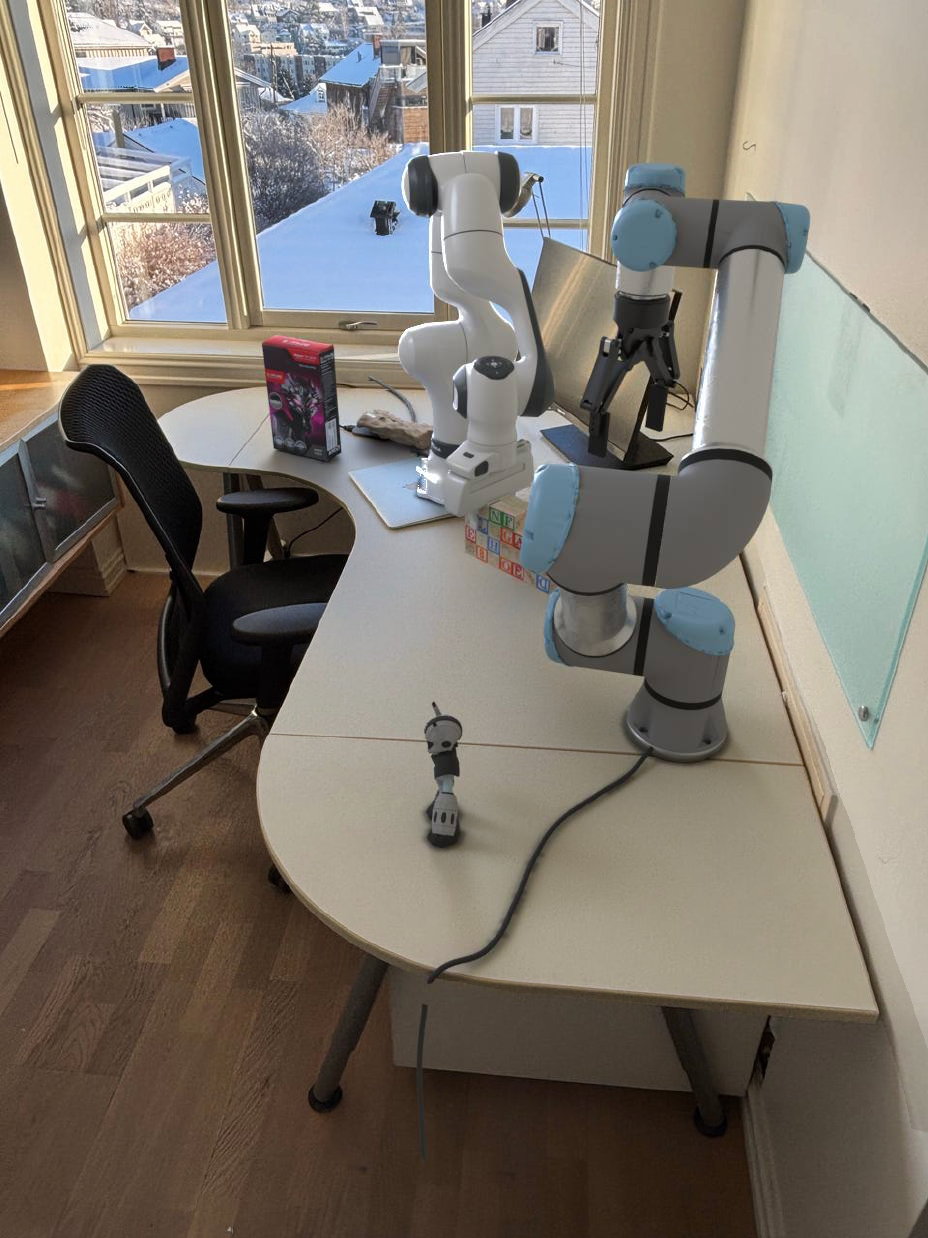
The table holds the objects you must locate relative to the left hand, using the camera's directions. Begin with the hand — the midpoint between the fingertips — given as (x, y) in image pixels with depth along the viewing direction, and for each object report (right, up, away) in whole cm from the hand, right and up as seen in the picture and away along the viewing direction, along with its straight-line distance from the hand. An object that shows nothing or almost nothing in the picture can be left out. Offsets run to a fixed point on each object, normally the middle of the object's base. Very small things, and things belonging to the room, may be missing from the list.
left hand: (489, 520), depth 171 cm
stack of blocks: (+5, -9, 0) cm, 10 cm away
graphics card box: (-44, +23, +59) cm, 77 cm away
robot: (-8, -46, -45) cm, 65 cm away
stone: (-23, +28, +66) cm, 76 cm away
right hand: (+19, +8, -36) cm, 41 cm away
